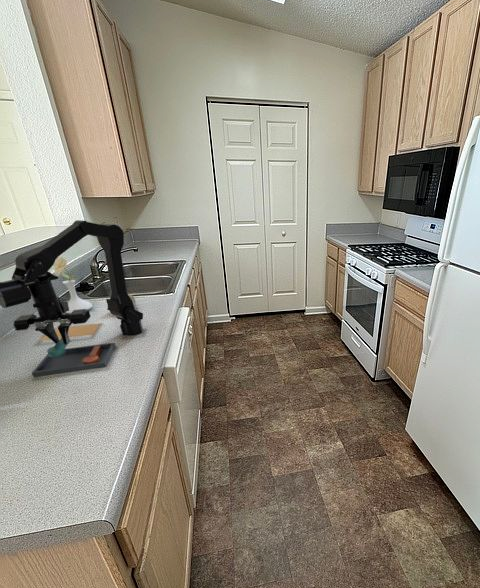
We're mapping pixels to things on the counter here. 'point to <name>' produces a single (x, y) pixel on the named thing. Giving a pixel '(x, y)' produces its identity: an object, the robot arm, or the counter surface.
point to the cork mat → (76, 331)
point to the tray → (73, 360)
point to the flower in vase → (70, 287)
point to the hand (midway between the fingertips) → (62, 344)
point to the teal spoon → (58, 348)
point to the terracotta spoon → (93, 356)
